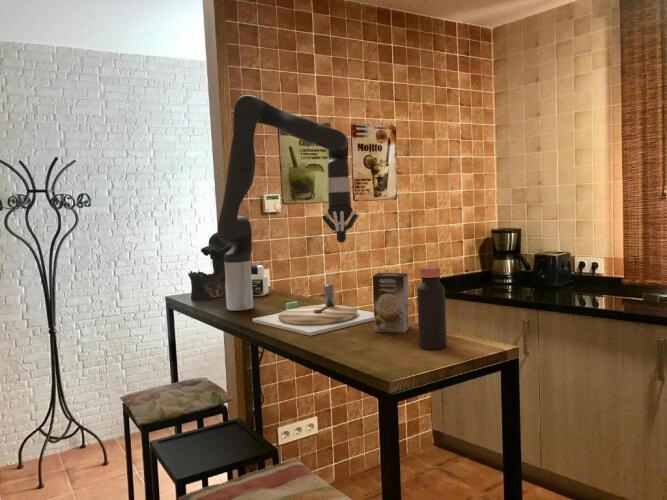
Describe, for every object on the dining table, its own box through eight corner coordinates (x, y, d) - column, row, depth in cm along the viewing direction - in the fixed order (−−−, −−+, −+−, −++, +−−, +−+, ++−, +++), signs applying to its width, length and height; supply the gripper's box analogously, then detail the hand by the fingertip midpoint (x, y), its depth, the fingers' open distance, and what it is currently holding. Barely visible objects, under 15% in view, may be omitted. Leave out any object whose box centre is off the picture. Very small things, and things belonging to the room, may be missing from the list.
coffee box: (373, 331, 166) (371, 275, 164) (379, 326, 172) (376, 272, 170) (405, 332, 163) (403, 275, 161) (410, 327, 169) (408, 272, 167)
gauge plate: (252, 321, 188) (251, 309, 187) (324, 306, 207) (324, 295, 207) (310, 335, 165) (309, 321, 164) (385, 317, 184) (384, 305, 184)
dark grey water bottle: (428, 351, 142) (425, 270, 141) (414, 345, 149) (411, 267, 147) (452, 347, 145) (449, 267, 143) (436, 342, 151) (434, 265, 149)
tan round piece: (342, 325, 170) (341, 298, 169) (265, 323, 178) (263, 297, 178) (367, 308, 193) (366, 284, 192) (297, 307, 202) (296, 284, 201)
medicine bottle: (246, 296, 238) (244, 266, 237) (252, 293, 245) (250, 264, 244) (263, 295, 237) (261, 266, 236) (268, 292, 244) (266, 264, 243)
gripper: (361, 190, 199) (363, 241, 200) (324, 191, 203) (327, 241, 205) (354, 190, 191) (356, 243, 193) (316, 192, 196) (319, 243, 198)
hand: (341, 242), depth 199 cm, fingers closed
